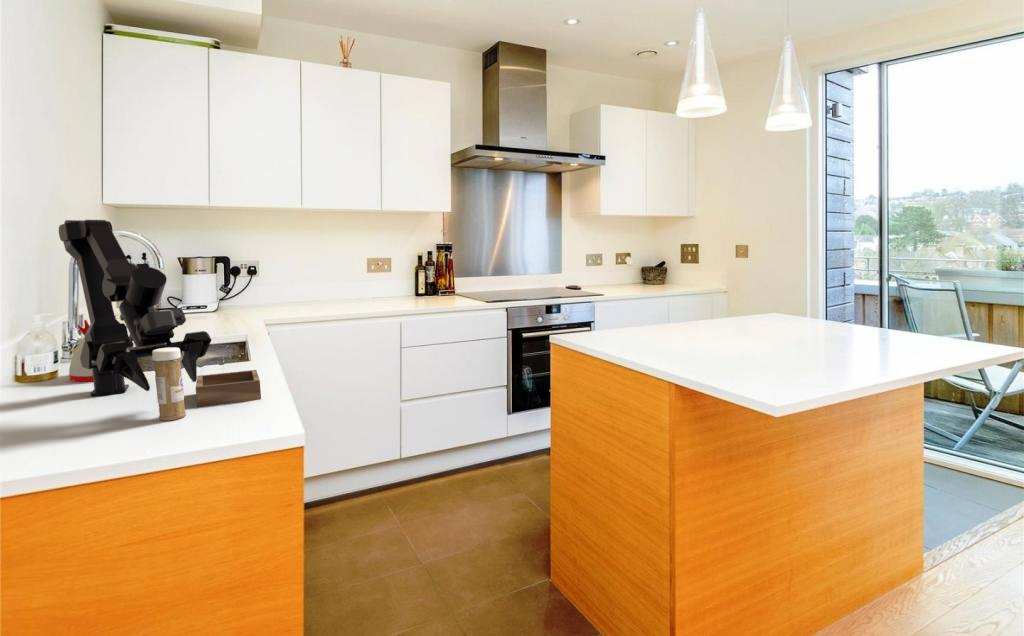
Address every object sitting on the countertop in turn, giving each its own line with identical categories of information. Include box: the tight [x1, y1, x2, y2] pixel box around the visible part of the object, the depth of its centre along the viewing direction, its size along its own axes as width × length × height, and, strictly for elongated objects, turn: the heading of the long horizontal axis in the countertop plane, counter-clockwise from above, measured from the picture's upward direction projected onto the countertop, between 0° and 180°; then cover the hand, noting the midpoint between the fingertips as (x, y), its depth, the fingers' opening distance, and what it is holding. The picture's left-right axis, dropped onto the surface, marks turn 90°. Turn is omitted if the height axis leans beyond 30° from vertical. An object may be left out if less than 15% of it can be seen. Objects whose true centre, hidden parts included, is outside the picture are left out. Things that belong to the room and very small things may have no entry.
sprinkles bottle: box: [151, 347, 187, 421], centre depth 109 cm, size 5×5×14 cm
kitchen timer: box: [68, 319, 94, 383], centre depth 145 cm, size 14×14×15 cm
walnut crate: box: [195, 369, 262, 408], centre depth 125 cm, size 12×12×4 cm
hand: (172, 385), depth 108 cm, fingers open, 8 cm apart
